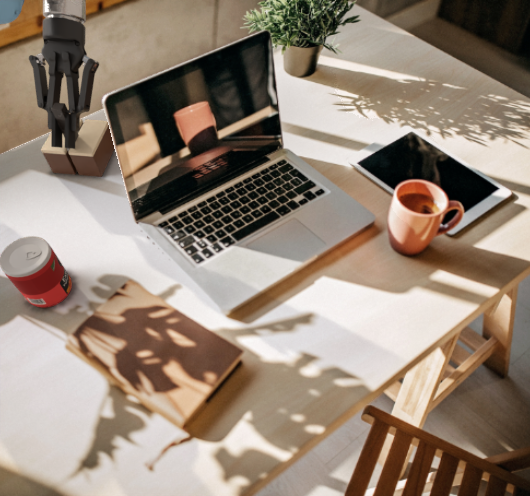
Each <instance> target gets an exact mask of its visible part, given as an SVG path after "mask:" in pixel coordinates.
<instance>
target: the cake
mask: <svg viewBox="0 0 530 496" xmlns="http://www.w3.org/2000/svg"><path fill="white" fill-rule="evenodd" d="M107 121H108V120H102V119H101V120H100V119H88V118H87V119H85V120H83V119H82V118H80V129H79V133H78V134H79V136H78V138H77V140H76V142H75V149H73V148H70V150H69V151H67V148H65V138H64V135H63V133H62V148H59V147H51V133H52V131H51V132H50V133H49V134H48V137H47V139H46V140H45V142H44V143H43V145H42V147H41V149H40V151H41V152H42V155H43V157H44V159H45V161H46V162H47V164H48V166H49V168H50V170H51V172H52V173H53V174H61V175H62V174H63V175H73V176H74V175H77V173H78V175H79V176H86V177H95V178H96V177H97V178H102V177H103V175H104V173H105V171H106V169H107V166H108V165H109V162H110V159H112V155H113V154H114V151H115V149H114V145H113V141H112V137H111V133H110V129H109V125H110V124H109V125H108V122H109V121H108V122H107Z"/></svg>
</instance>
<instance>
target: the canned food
mask: <svg viewBox="0 0 530 496" xmlns="http://www.w3.org/2000/svg"><path fill="white" fill-rule="evenodd" d="M0 269H1V271H2V272H3V273H4V275H5V276H6V277H7V279H8V280H9V281H10V282H11V283H12V285H14V287H15V288H16V289H17V290H18V292H20V294H21V295H22V296H23V297H24V299H25V300H27V301H26V302H28V303H29V304H31V305H32V306H34V307H38V308H42V309H43V308H45V309H47V308H52V307H54V306H57V305H59V304H61V303H62V302H63V301H65V299H67V297H68V296H69V295H70V293H71V291H72V288H73V282H72V278H71V276H70V274H69V273H68V271H67V270H66V268H65V266H64V265H63V263H62V261H61V260H60V258H59V257H58V256H57V254H56V253H55V251H54V249H53V248H52V246H51V245H50V243H49V242H48V241H47V240H46V239H44V238H42V237H40V236H34V235H31V236H30V235H29V236H24V237H23V236H22V237H21V238H18V239H16V240H13V241H12V242H10V243H9V244H8V245H7V246H6V247H5V248H4V249H3V250H2V252H1V253H0Z"/></svg>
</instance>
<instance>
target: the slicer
mask: <svg viewBox="0 0 530 496" xmlns="http://www.w3.org/2000/svg"><path fill="white" fill-rule="evenodd" d="M51 110H52V112H53V114H54V116H55V118H56V121H57V123H58V125H59V127H60V129H61V131H62V133H63V135H64V138H65V113H66V114H70V113H68V111H67V110H69V108H68V106H67V104H66V103H64V102H60V103H55V104H54V105H53V107H52V109H51ZM78 133H79V131H76V132H75V142H76V140H77V138H78V136H79V134H78ZM69 150H70V148H67V151H69Z"/></svg>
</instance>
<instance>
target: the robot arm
mask: <svg viewBox="0 0 530 496" xmlns="http://www.w3.org/2000/svg"><path fill="white" fill-rule="evenodd" d="M86 1H87V0H42V16H43V17H45V18H43V19H42V40H43V46H42V48H41V50H40V51H41V52H40V53H37V54H36V55H33V54H31V55H29V56H28V60H29V61H28V62H29V63H30V64H31V67H32V72H33V80H34V87H35V96H36V102H37V107H38V108H39V109H42V110H44V111H46V113H47V129H48V130H51V132H52V133H51V132H50V133H51V147H59V148H62V131H61V129H60V127H59V125H58V123H57V121H56V118H55V116H54V114H53V112H52V110H51V109H52V107H53V105H54V104H55V103H61V94H62V93H61V92H62V83H63V79H64V77H65V80H66V93H67V102H68V103H67V104H68V110H67V111H68V113H69V114H66V113H65V148H73V149H75V132H76V131H79V129H80V119H81V114H84V113H89V112H90V110H91V105H92V104H91V103H92V97H93V89H94V82H95V76H96V73H97V70H98V69H99V66H100V62H99V61H97V60H95V59H93V58H91V57H89V56H88V53H87V51H86V48H85V47H86V26H85V25H84V24H85V23H86V22H87V14H86V13H87V11H86V10H87V7H86V5H87V4H86ZM24 4H25V0H0V25H5V24H10V23H13V22H14V21H15V20H17V18H18V17H19V16H20V15H21V12H22V9H23V6H24ZM47 64H48V76H49V77H48V78H47V70H46V67H45V66H46V65H47ZM82 66H83V69H82V75H81V83H80V84H79V79H80V68H81V67H82Z"/></svg>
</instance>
